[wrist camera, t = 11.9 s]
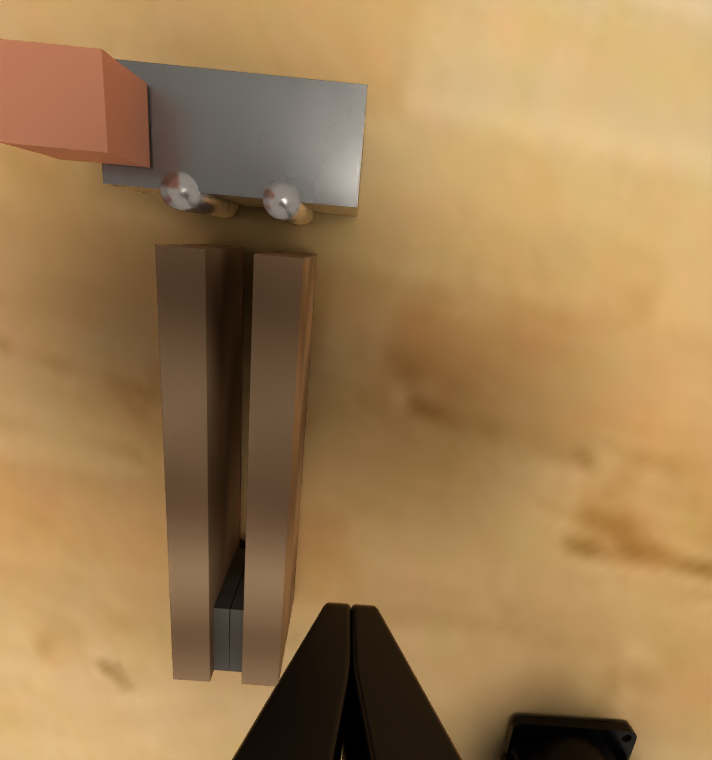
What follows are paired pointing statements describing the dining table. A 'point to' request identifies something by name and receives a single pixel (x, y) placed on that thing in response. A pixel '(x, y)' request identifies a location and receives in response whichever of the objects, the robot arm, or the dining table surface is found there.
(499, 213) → the dining table surface
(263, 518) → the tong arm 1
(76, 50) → the tab
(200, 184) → the grey block
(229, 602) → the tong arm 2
